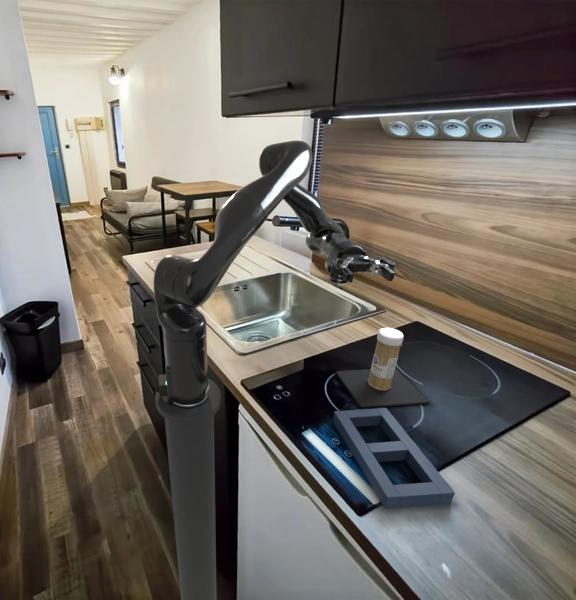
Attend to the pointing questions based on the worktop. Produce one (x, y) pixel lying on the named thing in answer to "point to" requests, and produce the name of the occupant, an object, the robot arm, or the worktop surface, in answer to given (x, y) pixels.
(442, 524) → the worktop surface
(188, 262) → the robot arm
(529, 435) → the worktop surface
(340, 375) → the mat
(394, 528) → the worktop surface
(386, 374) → the sprinkles bottle
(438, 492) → the holder
